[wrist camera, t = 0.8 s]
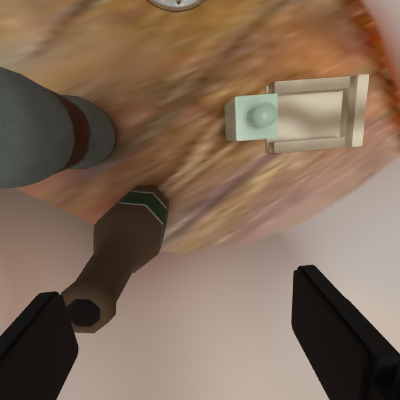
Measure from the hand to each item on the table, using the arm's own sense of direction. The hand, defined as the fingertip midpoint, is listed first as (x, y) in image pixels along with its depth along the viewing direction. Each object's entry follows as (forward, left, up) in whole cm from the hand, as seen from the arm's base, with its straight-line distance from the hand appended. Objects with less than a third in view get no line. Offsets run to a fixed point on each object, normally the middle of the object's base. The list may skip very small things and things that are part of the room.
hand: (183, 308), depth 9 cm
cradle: (-8, +19, -29) cm, 36 cm away
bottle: (-8, +9, -29) cm, 31 cm away
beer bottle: (+4, -7, -29) cm, 30 cm away
